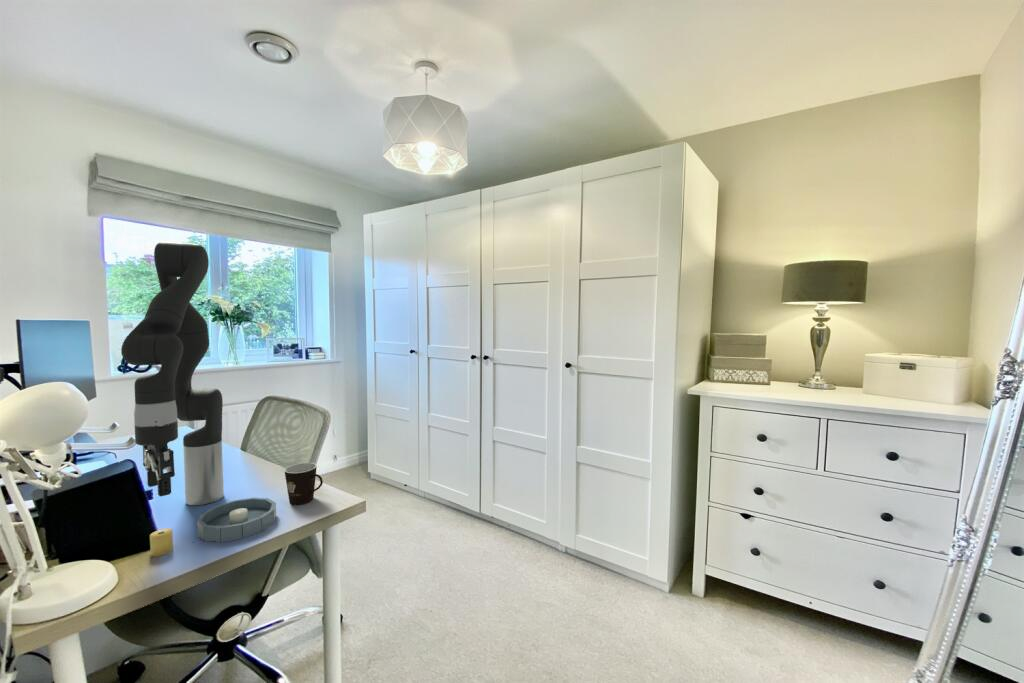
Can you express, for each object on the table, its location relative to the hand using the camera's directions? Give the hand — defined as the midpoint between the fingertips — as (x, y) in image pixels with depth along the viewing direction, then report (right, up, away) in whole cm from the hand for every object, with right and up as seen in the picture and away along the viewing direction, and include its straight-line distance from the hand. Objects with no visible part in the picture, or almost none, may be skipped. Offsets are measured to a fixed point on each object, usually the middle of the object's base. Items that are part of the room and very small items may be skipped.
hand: (159, 490), depth 97 cm
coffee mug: (+20, -13, +27) cm, 36 cm away
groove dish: (+10, -14, +14) cm, 22 cm away
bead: (0, -15, +1) cm, 15 cm away
